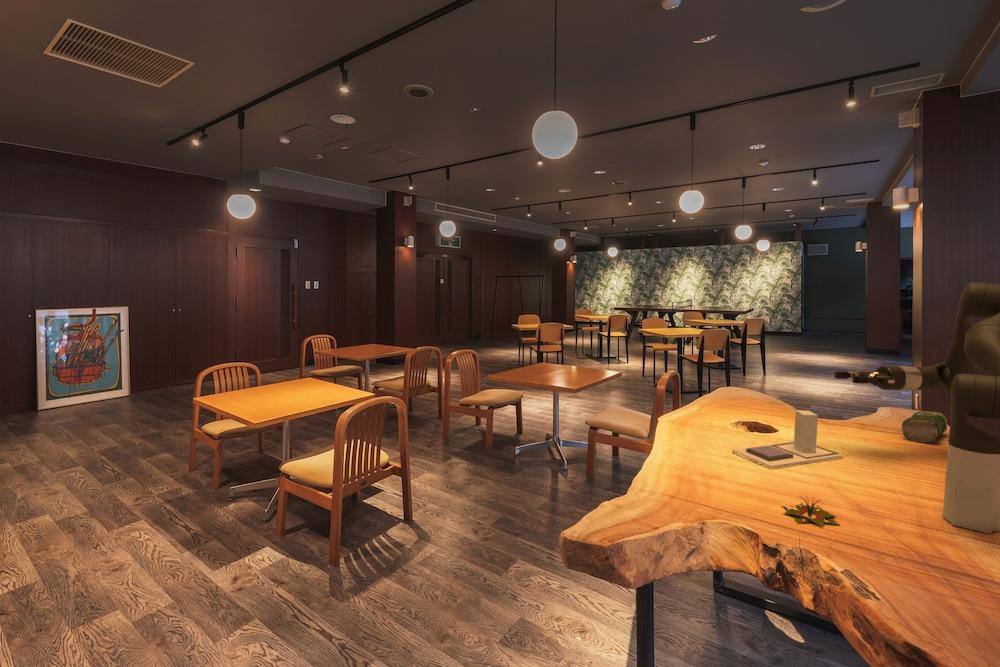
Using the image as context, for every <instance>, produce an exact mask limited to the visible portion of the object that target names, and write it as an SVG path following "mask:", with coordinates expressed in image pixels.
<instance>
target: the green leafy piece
mask: <svg viewBox="0 0 1000 667" xmlns="http://www.w3.org/2000/svg"><path fill="white" fill-rule="evenodd" d="M799 497H800V498H801V499H802V500H803V501H804V502H805V503H806V505H805V504H804V503H803V501H802V502H800V503H799V504H796V505H795V507H796V508H797V509H798V510H799V511H798V510H794V509H789V510H788V509H786V511H785V512H784V513H783V515H794V519H795V521H796V523H797V524H800V523H802V524H803V523H812V522H813V523H814V524H816V525H818V526H819V527H820V528H823V527H824V524H831V525H837V526H840V523H839V522H837V521H836V520H835V519H833V518H831V517H835V518H836V517H837V515H834V514H832V513H830V512H829V511H826V510H824V509H823V508H822V507H820V505H816V504H817V503H819V502H822V499H819V500H817V501H816V502H814V500H812V502H811V505H810V502H809V499H808V496H807V495H805V498H806V499H807V501H806V499H804V498H803V496H801V495H800V496H799ZM815 498H816V497H813V499H815ZM799 505H801V507H800V506H799ZM815 505H816V506H815ZM790 506H791V507H794V506H792V505H790ZM817 509H820V510H819V511H816V510H817ZM814 510H815V511H814ZM806 512H807V513H806ZM805 514H807V516H808V517H807V516H804V515H805ZM812 516H815V517H816V518H815V517H814V518H811V517H812ZM801 518H805V519H804V521H803V519H801ZM822 518H823V519H822ZM824 519H825V520H827V521H829V522H827V521H826V522H825V520H824Z"/></svg>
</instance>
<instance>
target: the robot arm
mask: <svg viewBox="0 0 1000 667" xmlns="http://www.w3.org/2000/svg"><path fill="white" fill-rule="evenodd" d="M956 312H957V313H956V316H955V321H954V326H953V333H952V338H951V342H950V345H949V348H948V350H947V353H946V355H945V359H944V360H945V361H944V362H940V363H937V364H933V365H929V366H907V365H880V366H879V367H877V369H876V370H875V371H874V370H870V369H869V370H864V369H862V370H848V369H846V370H844V371H835V372H834V378H835V379H838V380H851V382H852V383H853V384H863V385H864V384H865V385H866V384H867V385H869V386H874V387H875V386H876V387H878V388H879V389H880V390H882V391H883V390H884V391H917V390H919V391H920V390H921V391H924V390H925V391H929V390H935V389H936V388H938V387H939V384H940V386H941V387H942V388H943V389H944V390H945V391H946V392H947V393H948V394H950V419H949V420H950V421H949V422H950V423H949V434H948V442H947V454H946V467H945V478H944V494H943V507H942V508H943V509H942V517H943V518H944V520H945V521H947V522H949V523H951V525H952V526H955V527H959V528H964V529H968V530H972V531H977V532H979V533H984V534H988V533H989V534H992V533H994V532H993V531H996V532H998V530H999V529H1000V434H998V433H996V432H993V431H990V430H989V429H986V428H984V427H981V426H980V425H978V424H976V423H975V422H974V421H972V420H971V419H970V417H975V418H983V419H988V420H989V419H991V420H992V419H993V420H999V421H1000V284H995V283H985V282H974V281H973V282H969V283H968V284H967V285H966V286H965V288H964V289H963V292H962V294H961V296H960V299H959V302H958V307H957V311H956ZM972 317H974V318H981V319H982V320H979V321H978V322H976V323H975V324H973V323H972ZM977 370H980V371H981V372H983V373H984V374H985V375H984V374H978V372H977ZM999 531H1000V530H999ZM989 534H988V535H989Z"/></svg>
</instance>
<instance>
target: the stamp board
mask: <svg viewBox="0 0 1000 667" xmlns="http://www.w3.org/2000/svg"><path fill="white" fill-rule="evenodd" d="M732 451H734V452H736V453H739V454H741V455H743V456H745V457H747V458H750V459H752V460H754V461H756V462H759V463H761V464H763V465H766V466H768V467H770V468H775V467H782V466H789V467H791V466H790V465H796V466H798V465H797V464H802V465H807V464H806V463H808V464H814V463H813V462H815V463H820V462H827V461H833V460H841V459H844V454H842V453H839V452H836V451H834V450H830V449H827V448H824V447H821V446H818V445H816V453H812V452H801V451H800V450H798V449H797V448H796V447H794V440H793V441H787V442H778V443H772V444H763V445H756V446H750V447H742V448H736V449H732V450H731V452H732Z"/></svg>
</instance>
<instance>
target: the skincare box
mask: <svg viewBox="0 0 1000 667" xmlns="http://www.w3.org/2000/svg"><path fill="white" fill-rule="evenodd" d="M818 418H819V415H818V414H816V413H814V412H812V411H811V410H798V409H796V410H795V416H794V421H795V422H794V433H793V434H794V435H793V437H794V438H793V439H794V440H793V441H794V447H796V448H797V449H798V450H800V451H801V452H812V453H816V446H817V439H818V437H817V436H818Z"/></svg>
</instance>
